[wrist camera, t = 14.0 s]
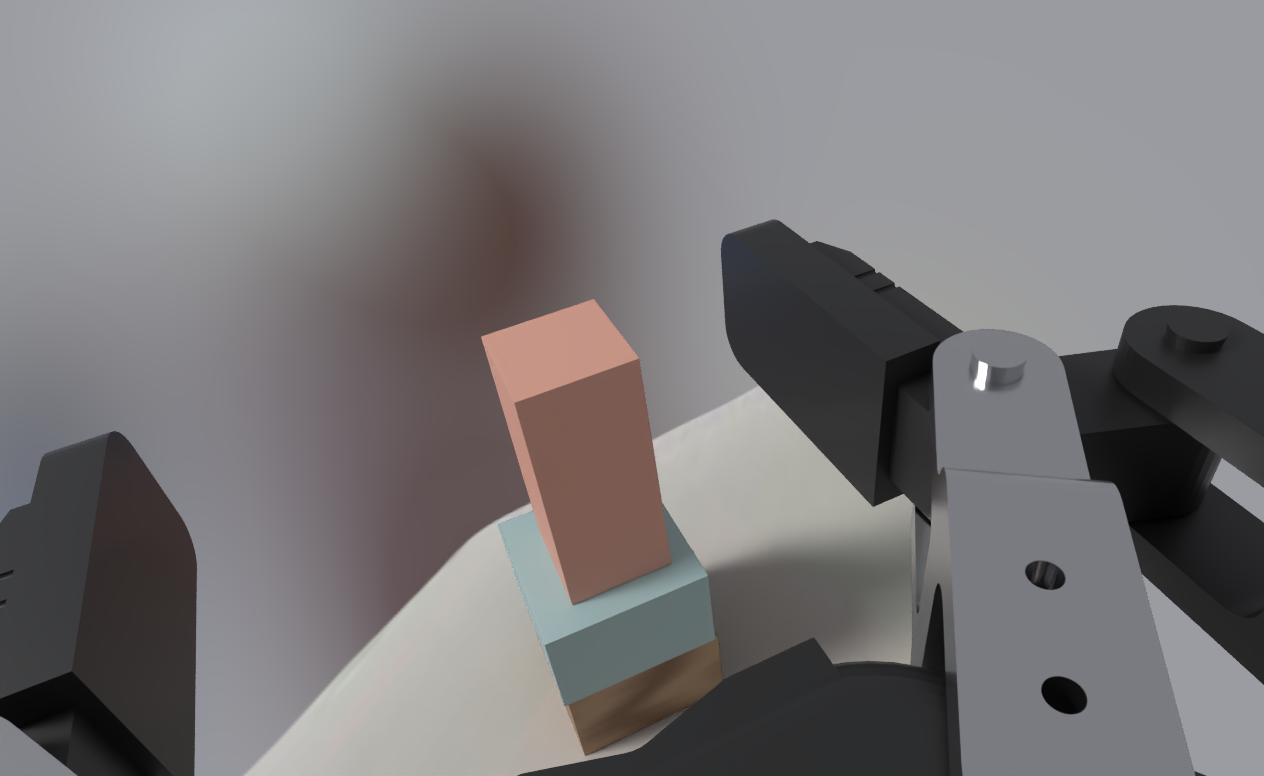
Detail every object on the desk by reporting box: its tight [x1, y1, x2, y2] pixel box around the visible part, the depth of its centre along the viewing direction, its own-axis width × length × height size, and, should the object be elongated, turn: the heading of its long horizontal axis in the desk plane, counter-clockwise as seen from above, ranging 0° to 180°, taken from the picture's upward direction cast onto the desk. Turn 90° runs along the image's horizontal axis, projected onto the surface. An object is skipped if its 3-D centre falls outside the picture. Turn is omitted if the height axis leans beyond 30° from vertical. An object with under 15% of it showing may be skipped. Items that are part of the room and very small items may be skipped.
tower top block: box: [498, 503, 715, 706], centre depth 41 cm, size 8×8×5 cm
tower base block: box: [537, 631, 723, 756], centre depth 45 cm, size 8×8×5 cm
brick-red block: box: [481, 299, 671, 605], centre depth 36 cm, size 5×5×12 cm
